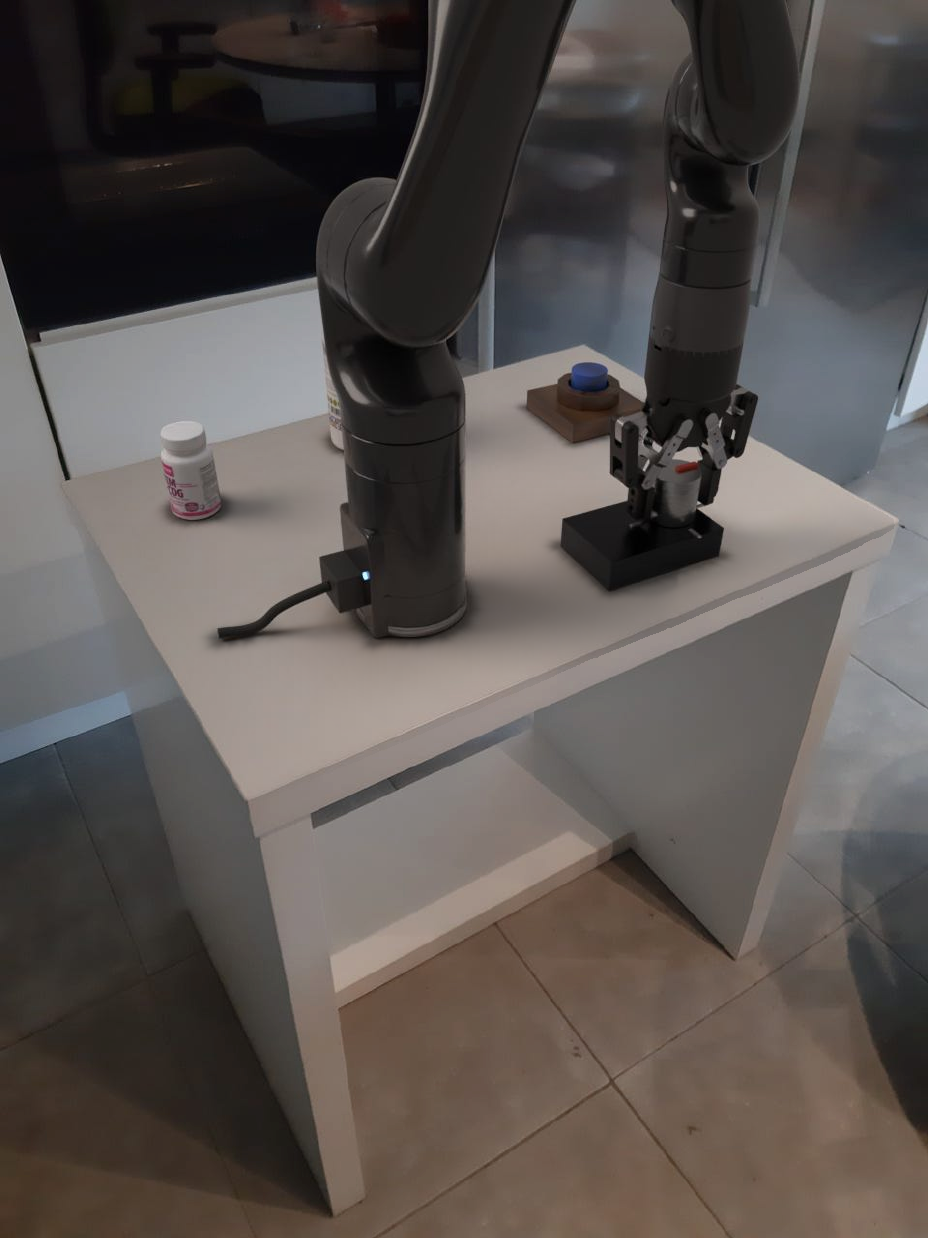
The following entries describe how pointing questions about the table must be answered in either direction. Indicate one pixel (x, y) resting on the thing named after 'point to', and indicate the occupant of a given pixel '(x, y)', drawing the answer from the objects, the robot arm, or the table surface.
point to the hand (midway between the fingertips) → (671, 509)
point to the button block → (581, 407)
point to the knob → (676, 494)
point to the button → (589, 377)
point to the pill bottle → (189, 471)
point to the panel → (636, 544)
